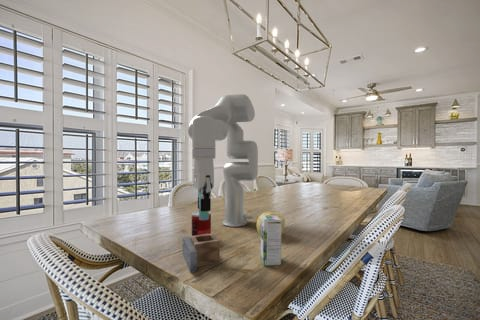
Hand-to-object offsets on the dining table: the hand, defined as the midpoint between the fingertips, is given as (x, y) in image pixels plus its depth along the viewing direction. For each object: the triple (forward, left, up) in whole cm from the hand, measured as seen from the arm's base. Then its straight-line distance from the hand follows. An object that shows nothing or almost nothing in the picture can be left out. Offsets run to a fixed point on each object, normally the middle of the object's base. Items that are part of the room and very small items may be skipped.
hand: (204, 209), depth 77 cm
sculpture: (-32, -11, -17) cm, 38 cm away
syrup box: (-20, +10, -17) cm, 28 cm away
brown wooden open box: (0, 0, -17) cm, 17 cm away
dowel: (0, 0, -3) cm, 3 cm away
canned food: (-4, -19, -17) cm, 26 cm away
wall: (+5, 0, -17) cm, 17 cm away
